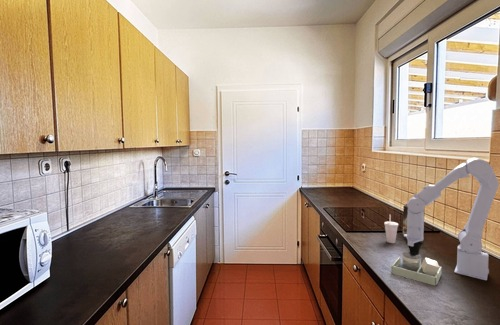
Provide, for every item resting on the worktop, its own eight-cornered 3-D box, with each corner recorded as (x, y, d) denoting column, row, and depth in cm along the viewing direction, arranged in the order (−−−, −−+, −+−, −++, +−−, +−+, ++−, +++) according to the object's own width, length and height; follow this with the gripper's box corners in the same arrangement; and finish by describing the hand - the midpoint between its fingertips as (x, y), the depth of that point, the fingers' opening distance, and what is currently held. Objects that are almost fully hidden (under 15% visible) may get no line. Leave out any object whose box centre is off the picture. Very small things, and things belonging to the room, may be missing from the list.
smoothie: (385, 238, 143) (386, 212, 142) (399, 241, 139) (399, 214, 138) (382, 242, 138) (382, 215, 137) (396, 245, 134) (397, 217, 133)
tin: (422, 265, 111) (423, 254, 111) (418, 271, 107) (419, 259, 106) (404, 261, 116) (404, 250, 115) (400, 266, 111) (400, 255, 111)
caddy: (441, 274, 104) (441, 266, 103) (436, 286, 96) (436, 277, 95) (399, 263, 114) (399, 256, 113) (391, 273, 106) (391, 265, 105)
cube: (433, 269, 103) (436, 261, 102) (435, 276, 100) (439, 267, 98) (421, 265, 105) (424, 257, 103) (423, 272, 101) (427, 263, 100)
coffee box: (402, 234, 148) (402, 205, 147) (405, 231, 153) (405, 203, 152) (421, 238, 142) (422, 208, 141) (424, 235, 146) (424, 206, 145)
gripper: (408, 220, 121) (408, 250, 122) (399, 228, 111) (399, 261, 112) (427, 223, 117) (426, 254, 118) (419, 232, 106) (418, 266, 107)
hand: (414, 258), depth 114 cm, fingers closed
